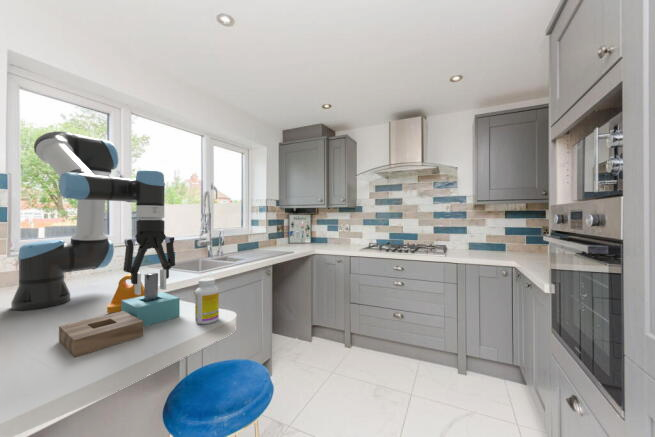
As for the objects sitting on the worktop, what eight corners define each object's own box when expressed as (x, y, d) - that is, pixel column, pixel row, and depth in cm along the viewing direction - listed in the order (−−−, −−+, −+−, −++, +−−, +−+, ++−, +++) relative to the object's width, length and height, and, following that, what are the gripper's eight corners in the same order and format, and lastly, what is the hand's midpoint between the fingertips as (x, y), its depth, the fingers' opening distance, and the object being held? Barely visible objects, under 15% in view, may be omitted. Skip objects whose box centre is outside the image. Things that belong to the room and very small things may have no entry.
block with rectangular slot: (121, 319, 85) (121, 300, 85) (162, 309, 95) (162, 291, 95) (137, 328, 78) (136, 307, 78) (179, 316, 88) (179, 297, 88)
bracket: (106, 315, 89) (106, 279, 89) (112, 309, 95) (112, 274, 95) (145, 310, 94) (145, 276, 94) (148, 304, 100) (148, 272, 100)
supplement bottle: (223, 318, 86) (223, 277, 86) (207, 326, 80) (207, 282, 80) (206, 315, 88) (206, 276, 88) (190, 323, 82) (190, 280, 82)
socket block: (59, 341, 70) (59, 326, 70) (123, 324, 82) (123, 310, 81) (74, 357, 62) (74, 339, 62) (143, 335, 73) (143, 321, 73)
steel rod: (142, 318, 86) (142, 274, 86) (154, 315, 89) (155, 272, 89) (146, 320, 84) (147, 275, 84) (159, 317, 87) (160, 273, 87)
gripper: (118, 219, 76) (118, 301, 76) (187, 219, 92) (187, 286, 92) (108, 219, 81) (108, 296, 81) (176, 219, 97) (176, 283, 97)
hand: (150, 291), depth 87 cm, fingers open, 7 cm apart
